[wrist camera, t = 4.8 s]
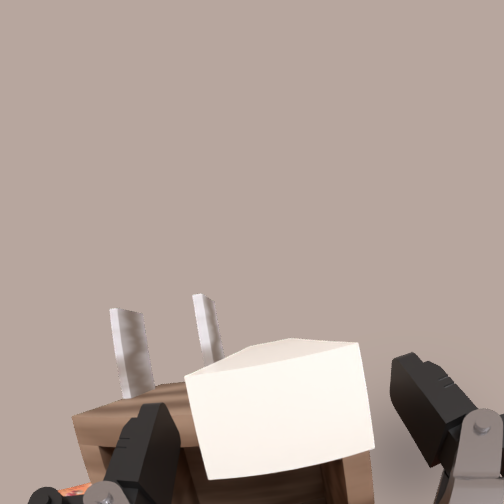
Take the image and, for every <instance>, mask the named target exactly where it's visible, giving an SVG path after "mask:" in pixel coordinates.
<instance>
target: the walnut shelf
mask: <svg viewBox="0 0 504 504" xmlns="http://www.w3.org/2000/svg"><path fill="white" fill-rule="evenodd" d="M193 302H194V309H195V314H196V321H197V327H198V333H199V339H200V345H201V350H202V355H203V361H204V366H205V367H206V366H209V365H211V364H213V363H215V362H217V361H219V360H222V359H224V358H225V357H224V352H223V347H222V341H221V336H220V330H219V325H218V319H217V313H216V307H215V302H214V301H213V300H211V299H209V298H208V297H206V296H205V295H203V294H196V295H193ZM110 318H111V326H112V334H113V342H114V349H115V355H116V361H117V368H118V373H119V379H120V384H121V390H122V395H123V399H121V400H118V401H115V402H113V403H110V404H107V405H104V406H101V407H99V408H95V409H93V410H89V411H86V412H83V413H80V414H77V415H74V416H72V420H73V424H74V428H75V432H76V435H77V439H78V443H79V446H80V450H81V453H82V456H83V460H84V463H85V466H86V469H87V472H88V475H89V478H90V481H91V484H94V483H97V482H100V481H103V479H104V477H105V474H106V471H107V468H108V466H109V463H110V460H111V457H112V455H113V452H114V449H116V444H117V441H118V440H119V436H120V434H121V431H122V429H123V427H124V426H125V424H126V423H127V422H128V421H129V420H130V419H131V418H132V417H137V416H138V414H139V411H140V408H141V406H142V404H144V403H161V402H163V403H165V405H166V406H167V408H168V410H169V412H170V414H171V417H172V419H173V421H174V423H175V425H176V427H177V429H178V431H179V434H180V438H181V448H180V454H179V459H178V465H177V471H176V477H175V484H174V490H173V496H172V502H171V504H374V492H373V482H372V481H373V480H372V472H371V471H372V470H371V461H370V454H369V453H370V452H369V450H368V451H364V452H361V453H358V454H354V455H351V456H348V457H344V458H340V459H337V460H333V461H329V462H325V463H321V464H316V465H312V466H307V467H303V468H298V469H292V470H287V471H281V472H275V473H269V474H262V475H255V476H247V477H238V478H227V479H214V480H208V476H207V473H206V469H205V465H204V462H203V458H202V454H201V450H200V446H199V442H198V438H197V433H196V429H195V425H194V420H193V416H192V411H191V407H190V402H189V397H188V393H187V388H186V383H185V382H179V383H170V384H161V385H158V386H155V385H154V380H153V374H152V369H151V363H150V357H149V351H148V345H147V339H146V332H145V325H144V317H143V314H142V313H137V312H133V311H128V310H124V309H119V308H113V309H110Z"/></svg>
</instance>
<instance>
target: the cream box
mask: <svg viewBox="0 0 504 504" xmlns="http://www.w3.org/2000/svg"><path fill="white" fill-rule="evenodd" d="M184 378H185V383H186V388H187V393H188V397H189V402H190V407H191V411H192V416H193V420H194V425H195V429H196V433H197V438H198V442H199V446H200V450H201V454H202V458H203V462H204V465H205V469H206V473H207V476H208V480H214V479H227V478H238V477H247V476H255V475H262V474H269V473H275V472H281V471H287V470H292V469H298V468H303V467H307V466H312V465H316V464H321V463H325V462H329V461H333V460H337V459H340V458H344V457H348V456H351V455H354V454H358V453H361V452H364V451H368V450H371V449H374V448H375V445H374V437H373V429H372V421H371V414H370V407H369V401H368V395H367V388H366V382H365V377H364V371H363V365H362V360H361V354H360V349H359V344H358V343H353V342H336V341H321V340H308V339H296V338H289V339H283V340H278V341H274V342H268V343H263V344H258V345H252V346H249V347H247V348H245V349H243V350H240V351H239V352H236V353H234V354H232V355H230V356H228V357H226V358H224V359H222V360H219V361H217V362H215V363H213V364H211V365H209V366H206V367H204V368H202V369H200V370H198V371H195V372H193V373H191V374H189V375H186V376H184Z"/></svg>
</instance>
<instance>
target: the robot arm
mask: <svg viewBox="0 0 504 504" xmlns="http://www.w3.org/2000/svg"><path fill="white" fill-rule="evenodd" d="M390 397H391V401H392V404H393V406H394V407H395V409H396V411H397V413H398V414H399V416H400V417H401V419H402V421H403V422H404V424H405V426H406V427H407V429H408V431H409V433H410V434H411V436H412V438H413V439H414V441H415V443H416V444H417V446H418V448H419V450H420V451H421V453H422V455H423V456H424V458H425V460H426V462H427V463H428V465H429V467H430V468H431V467H433V466H436V465H437V464H440V463H441V465H442V466H443V468H444V469H443V472H442V475H441V479H440V483H439V486H438V490H437V493H436V496H435V500H434V503H433V504H503V500H504V414H502V415H499V414H498V413H496V412H495V411H493V410H490V409H478V408H477V407H476V406H475V405H474V404H473V403H472V402H471V400H470V399H469V398H468V397H467V396H466V395H465V393H464V392H463V391H462V390H461V389H460V388H459V387H458V386H457V385H456V384H454V381H453V380H452V379H451V378H450V377H448V375H447V374H446V373H445V371H444V370H443V369H442V368H441V367H440V366H438V365H436V364H434V363H432V362H430V361H427V362H424V363H423V362H422V361H421V360H420V358H419V357H418V356H417V355H416V354H415V353H413V352H411V353H408V354H406V355H403V356H399V357H396V358H394V359H393V360H392V368H391V382H390ZM180 448H181V438H180V434H179V431H178V429H177V427H176V425H175V423H174V421H173V419H172V417H171V414H170V412H169V410H168V408H167V406H166V405H165V403H163V402H161V403H144V404H142V406H141V408H140V411H139V414H138V416H137V417H132V418H131V419H130V420H129V421H128V422H127V423H126V424H125V426H124V427H123V429H122V431H121V434H120V436H119V440H118V441H117V444H116V449H114V452H113V455H112V457H111V460H110V463H109V466H108V468H107V471H106V474H105V477H104V479H103V481H100V482H97V483H94V484H92V485H91V486H90V487H89V488H88V489H87V490H86V491H85V493H84V494H81V495H72V496H62V495H61V494H60V493H59V492H58V491H57V490H56V489H54V488H52V487H43V488H40V489H38V490H37V491H35V492H34V493H33V494H32V496H31V497H30V500H29V502H28V504H171V502H172V496H173V490H174V484H175V477H176V471H177V465H178V459H179V454H180ZM500 474H501V475H502V477H500Z"/></svg>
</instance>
